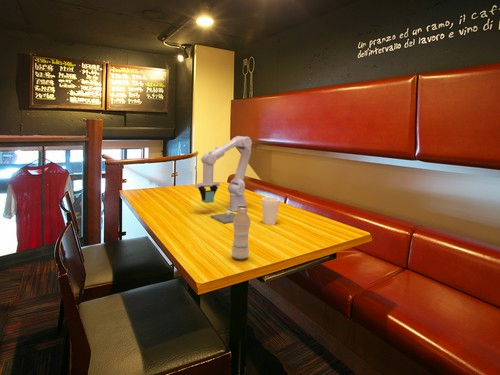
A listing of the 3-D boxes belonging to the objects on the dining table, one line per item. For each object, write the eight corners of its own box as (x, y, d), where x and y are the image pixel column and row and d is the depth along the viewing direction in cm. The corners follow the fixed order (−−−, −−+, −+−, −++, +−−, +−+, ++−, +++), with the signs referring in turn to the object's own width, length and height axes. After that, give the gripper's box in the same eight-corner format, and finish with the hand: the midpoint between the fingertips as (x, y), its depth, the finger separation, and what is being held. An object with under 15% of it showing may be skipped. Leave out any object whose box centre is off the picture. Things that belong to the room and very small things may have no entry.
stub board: (231, 214, 183) (232, 206, 182) (246, 220, 172) (246, 212, 171) (210, 217, 174) (210, 209, 173) (224, 223, 163) (224, 215, 162)
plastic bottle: (238, 253, 126) (240, 203, 122) (252, 257, 122) (254, 207, 118) (227, 258, 121) (229, 206, 117) (242, 263, 117) (244, 210, 113)
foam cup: (280, 222, 171) (281, 198, 169) (275, 226, 163) (277, 201, 160) (263, 219, 174) (264, 196, 172) (258, 224, 166) (259, 199, 163)
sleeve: (209, 200, 183) (209, 190, 182) (213, 202, 179) (214, 191, 178) (201, 201, 180) (201, 190, 179) (205, 203, 176) (206, 192, 175)
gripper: (199, 177, 170) (199, 202, 172) (223, 175, 178) (222, 199, 181) (193, 175, 175) (193, 199, 178) (216, 174, 184) (216, 197, 186)
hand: (207, 199), depth 179 cm, fingers closed on sleeve, 5 cm apart
